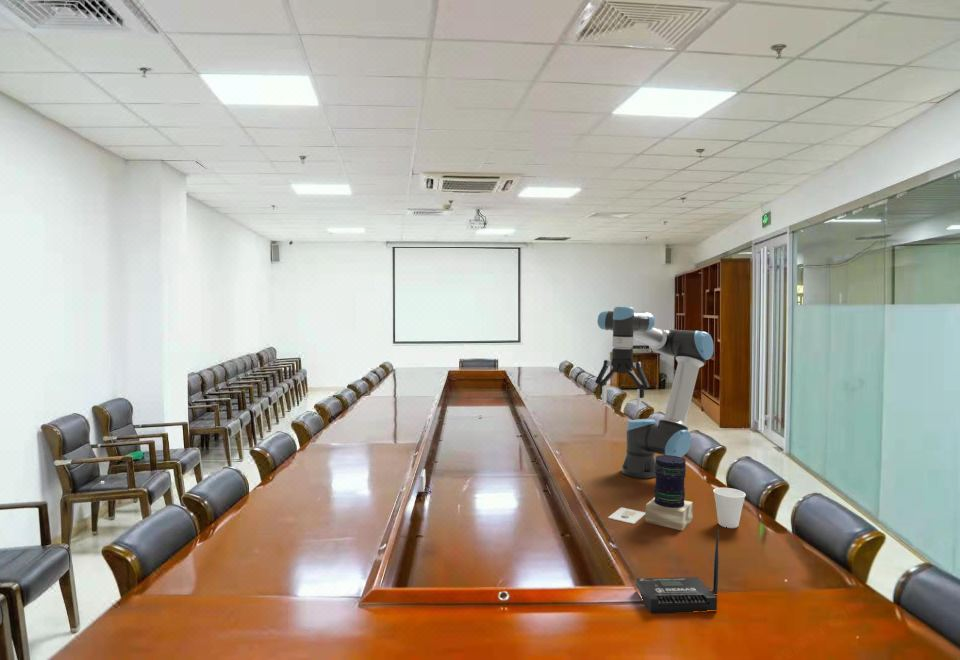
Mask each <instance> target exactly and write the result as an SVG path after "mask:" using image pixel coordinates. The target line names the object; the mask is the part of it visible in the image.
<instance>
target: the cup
mask: <svg viewBox="0 0 960 660" xmlns="http://www.w3.org/2000/svg"><path fill="white" fill-rule="evenodd" d="M712 492H713V494H714V503H715V508H716V516H717V523H718V524H719V526H721V527H723V528H726V527H727V528H726V529H736V528H738V527H739V525H740V519H741V517H742V510H743V505H744V502H745V499H746V498H745V497H747V495H746V493H745V492H744V491H742V490H739V489H737V488H730V487H716V488H714V489H713V490H712Z"/></svg>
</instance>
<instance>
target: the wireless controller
mask: <svg viewBox="0 0 960 660" xmlns="http://www.w3.org/2000/svg"><path fill="white" fill-rule="evenodd" d="M719 531H720V530H719V529H716V531H715V548H714V549H715V551H714V557H713V558H714V560H713V577H712V578H713V580H712V581H713V583H712V584H713V585H712V589H710V588H709V587H708V586H706V585H705V583H704V582H703V581H702V580H701V579H700V578H699V577H698V576H697V577H695V576H692V577H687V576H686V577H647V578H646V577H644V578H643V577H642V578H640V577H639V578H635V587H636V586H637V588H638V589H639V591H640V593H641V596H642V599H643V602H642V603H643V605H644V606H645V607H646V609H647V610H648V612H649V613H650V614H651V615H653V614H657V615H658V614H678V613H677V612H693V611H707V610H717V611H718V607H717V606H718V598H717V597H718V596H715V595H714V594H719V589H718V588H719V568H720V567H719V564H720V563H719V562H720V559H719V558H720V557H719V555H720V554H719V537H720V536H719V533H720V532H719Z"/></svg>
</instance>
